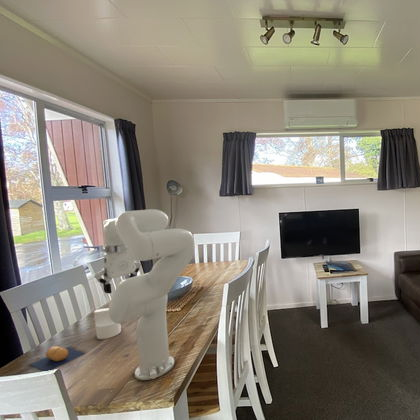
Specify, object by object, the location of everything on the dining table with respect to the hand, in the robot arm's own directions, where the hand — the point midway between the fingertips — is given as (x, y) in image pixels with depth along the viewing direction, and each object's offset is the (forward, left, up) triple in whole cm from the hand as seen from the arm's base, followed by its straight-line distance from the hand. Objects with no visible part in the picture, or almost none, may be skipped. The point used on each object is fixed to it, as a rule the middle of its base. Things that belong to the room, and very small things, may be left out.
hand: (121, 288), depth 113 cm
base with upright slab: (+20, +6, -26) cm, 34 cm away
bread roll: (+9, +22, -26) cm, 35 cm away
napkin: (+9, +22, -26) cm, 35 cm away
